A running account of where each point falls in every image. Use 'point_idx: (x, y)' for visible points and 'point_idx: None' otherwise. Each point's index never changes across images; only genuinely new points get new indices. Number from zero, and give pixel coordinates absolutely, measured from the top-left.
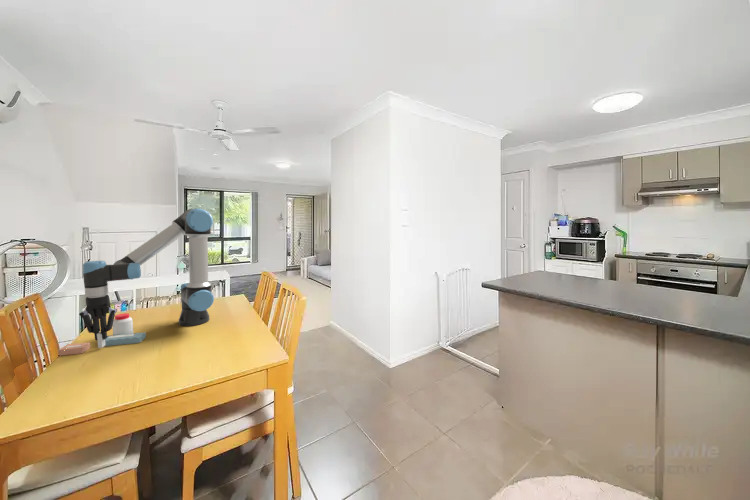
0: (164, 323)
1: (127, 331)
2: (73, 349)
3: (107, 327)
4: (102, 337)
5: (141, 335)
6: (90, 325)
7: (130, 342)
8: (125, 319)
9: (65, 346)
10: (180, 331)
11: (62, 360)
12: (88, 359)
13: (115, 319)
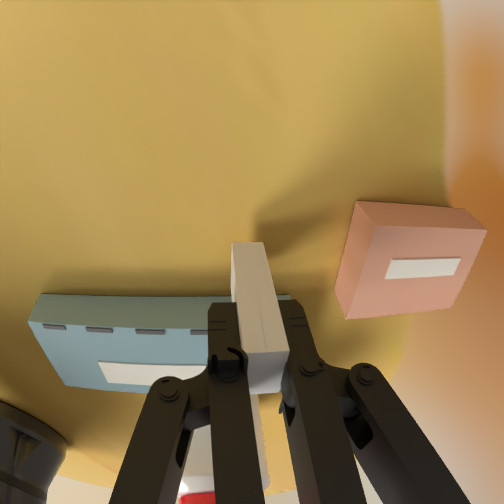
0: (117, 447)
1: None
2: (420, 223)
3: (163, 426)
4: (235, 320)
5: (47, 351)
6: (382, 452)
7: (86, 301)
8: (182, 490)
9: (459, 279)
10: None
11: (435, 111)
12: (253, 39)
13: None
